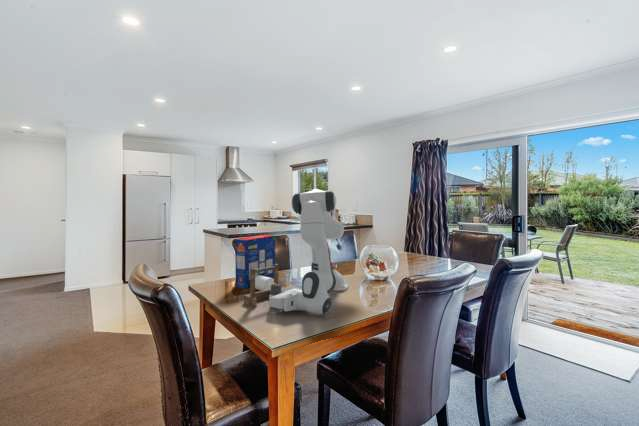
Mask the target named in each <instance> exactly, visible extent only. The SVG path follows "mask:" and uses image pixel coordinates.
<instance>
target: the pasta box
mask: <svg viewBox="0 0 639 426" xmlns="http://www.w3.org/2000/svg"><path fill="white" fill-rule="evenodd" d="M234 243H235V247H234V248H235V250H234V251H235V255H234V256H235V257H234V258H235V288H237V289H241V290H242V289H243V290H248V289H250V268H255V269H260V268H266V267H271V266H274V264H276V235H273V234H262V235H254V236H249V237H248V236H247V237H243V238H235V242H234ZM258 275H261V276H265V277H269V278H273V279H274V270H269V271H268V275H265V271H263V272H258V273H255V277H256V276H258Z"/></svg>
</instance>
